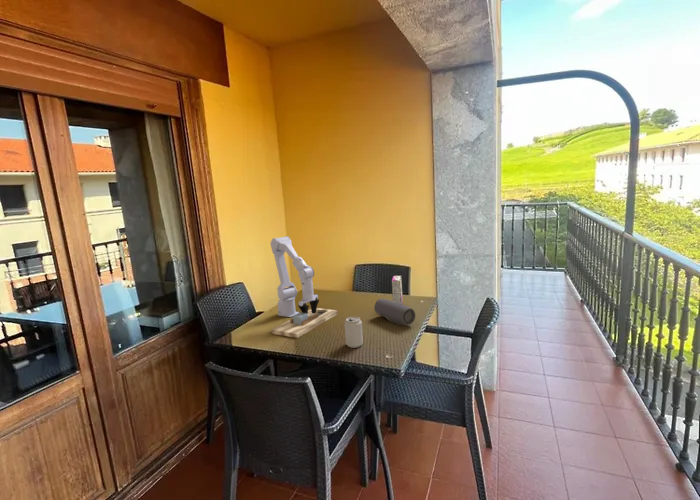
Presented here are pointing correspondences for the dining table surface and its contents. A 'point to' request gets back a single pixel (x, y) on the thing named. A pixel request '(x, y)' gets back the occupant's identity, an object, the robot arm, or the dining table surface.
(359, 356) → the dining table surface
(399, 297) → the candy bar box
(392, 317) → the bluetooth speaker
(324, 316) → the birch deck
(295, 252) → the robot arm
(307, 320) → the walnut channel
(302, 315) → the slate block
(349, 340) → the can
